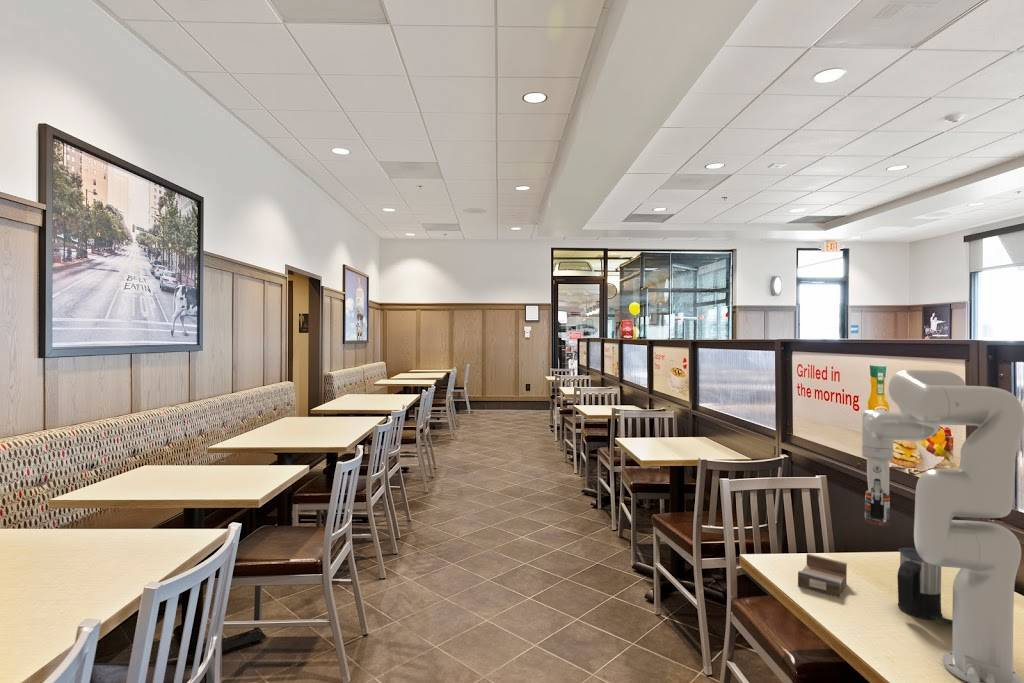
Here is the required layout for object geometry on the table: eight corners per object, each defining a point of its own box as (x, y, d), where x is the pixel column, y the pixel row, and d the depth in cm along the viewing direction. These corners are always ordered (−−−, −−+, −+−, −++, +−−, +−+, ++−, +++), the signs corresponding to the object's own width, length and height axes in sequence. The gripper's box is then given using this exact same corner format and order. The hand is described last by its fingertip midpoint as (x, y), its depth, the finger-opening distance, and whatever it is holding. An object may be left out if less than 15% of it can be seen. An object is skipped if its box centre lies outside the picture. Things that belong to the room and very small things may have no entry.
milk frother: (899, 598, 144) (900, 544, 144) (977, 619, 134) (977, 560, 134) (893, 619, 133) (893, 560, 133) (976, 643, 123) (977, 579, 123)
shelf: (838, 598, 144) (838, 576, 144) (797, 586, 151) (797, 565, 151) (846, 584, 153) (846, 563, 153) (807, 573, 159) (807, 553, 159)
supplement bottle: (860, 521, 156) (861, 483, 156) (870, 518, 159) (871, 480, 160) (883, 527, 151) (883, 487, 151) (893, 524, 154) (893, 485, 154)
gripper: (894, 459, 146) (893, 525, 146) (892, 449, 160) (892, 509, 160) (861, 456, 150) (860, 520, 150) (862, 446, 165) (862, 505, 165)
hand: (877, 514), depth 155 cm, fingers closed on supplement bottle, 5 cm apart
